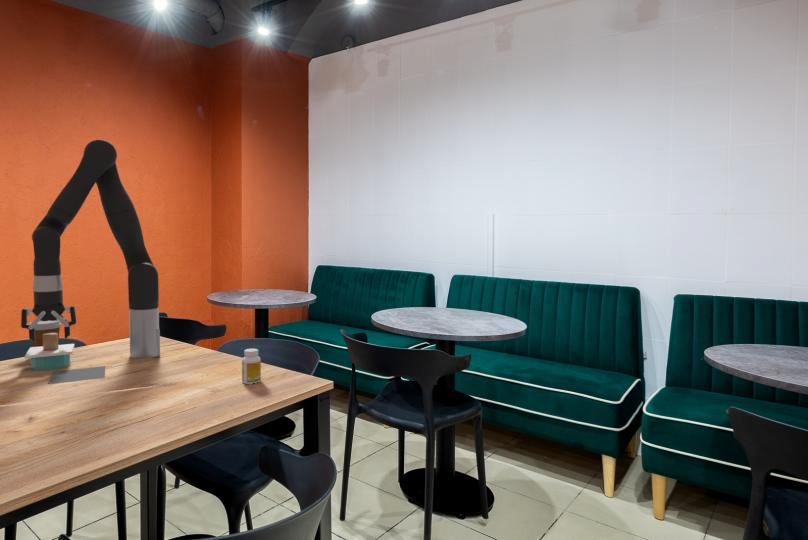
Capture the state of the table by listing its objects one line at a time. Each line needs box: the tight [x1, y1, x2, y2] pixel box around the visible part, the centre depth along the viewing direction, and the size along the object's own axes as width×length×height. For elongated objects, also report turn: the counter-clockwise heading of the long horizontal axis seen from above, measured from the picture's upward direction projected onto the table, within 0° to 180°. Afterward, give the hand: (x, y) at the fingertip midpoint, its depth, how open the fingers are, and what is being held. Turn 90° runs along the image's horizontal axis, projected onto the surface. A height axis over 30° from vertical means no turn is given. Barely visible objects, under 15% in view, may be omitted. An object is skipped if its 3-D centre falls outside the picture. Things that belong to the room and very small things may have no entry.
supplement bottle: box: [241, 348, 262, 385], centre depth 148 cm, size 5×5×10 cm
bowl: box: [30, 354, 71, 371], centre depth 159 cm, size 10×10×5 cm
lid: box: [24, 333, 75, 359], centre depth 159 cm, size 12×12×6 cm
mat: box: [47, 365, 106, 385], centre depth 151 cm, size 14×14×1 cm
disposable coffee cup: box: [28, 319, 62, 347], centre depth 173 cm, size 10×10×12 cm
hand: (50, 339), depth 159 cm, fingers open, 8 cm apart
